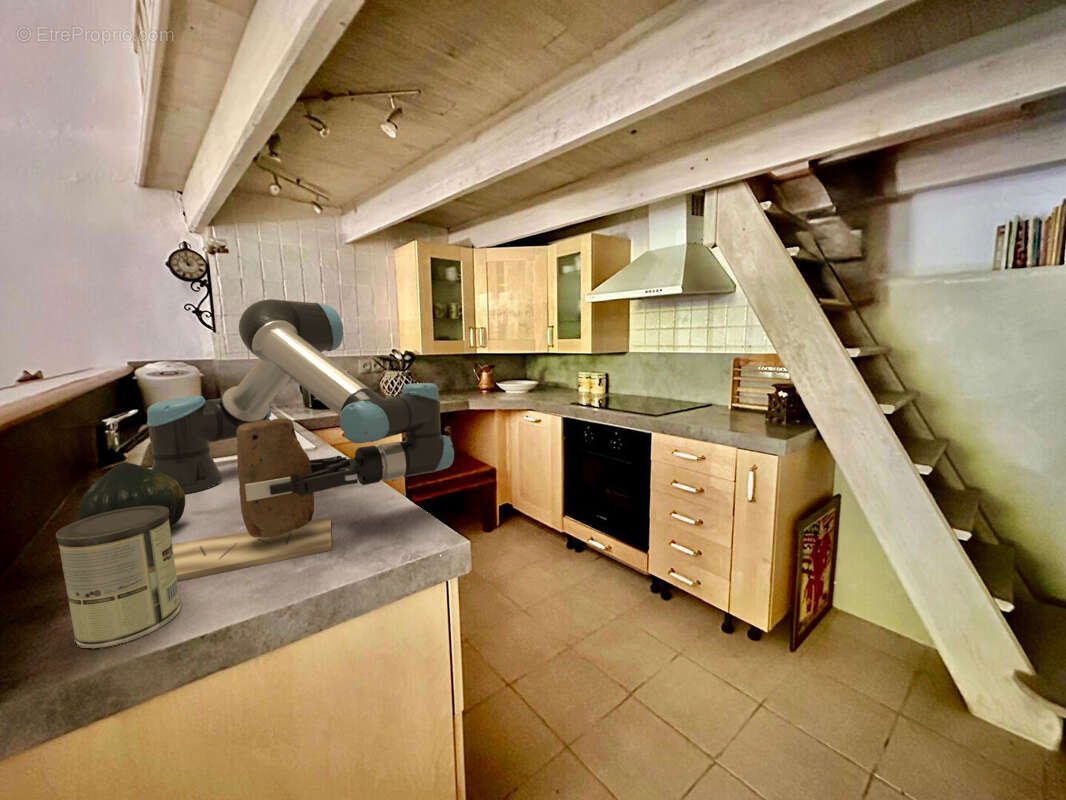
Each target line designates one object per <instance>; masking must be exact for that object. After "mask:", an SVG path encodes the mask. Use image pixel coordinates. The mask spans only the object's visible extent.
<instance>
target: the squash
mask: <svg viewBox="0 0 1066 800" xmlns="http://www.w3.org/2000/svg"><path fill="white" fill-rule="evenodd" d="M152 505H154V506H164V507H167V508H168V509H169V524H170V528H172V527H173V526H175V525H176V524H177V523H178V522H179V521H180V520H181V518H182V517H183V515H184V512H185V506H186V494H184V491H183V489H182V487H181V486H180V485H179V483H178V482H177V481H176V480H175V479H173V478H171V477H170V476H168V475H165V474H163V473H160V472H158V471H155V470H152V468H148V467H145V466H143V465H140V464H137V463H131V462H127V461H123V462H121V463H120V464H117V465H115V466H113V467H112V468H111V469H109V470H108V471H107V472H106V473H104V475H102V476H101V477H99V479H98V480H96V481H95V482H94V483H92V485H91V486H90V487H89V488H88V490H87V491H86V492H85V493H84V494H83V497H82V499H81V502H80V504H79V508H78V513H77V521H78V520H81V519H84V518H87V517H90V516H93V515H97V514H101V513H105V512H109V511H113V510H119V509H124V508H130V507H138V506H152Z"/></svg>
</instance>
